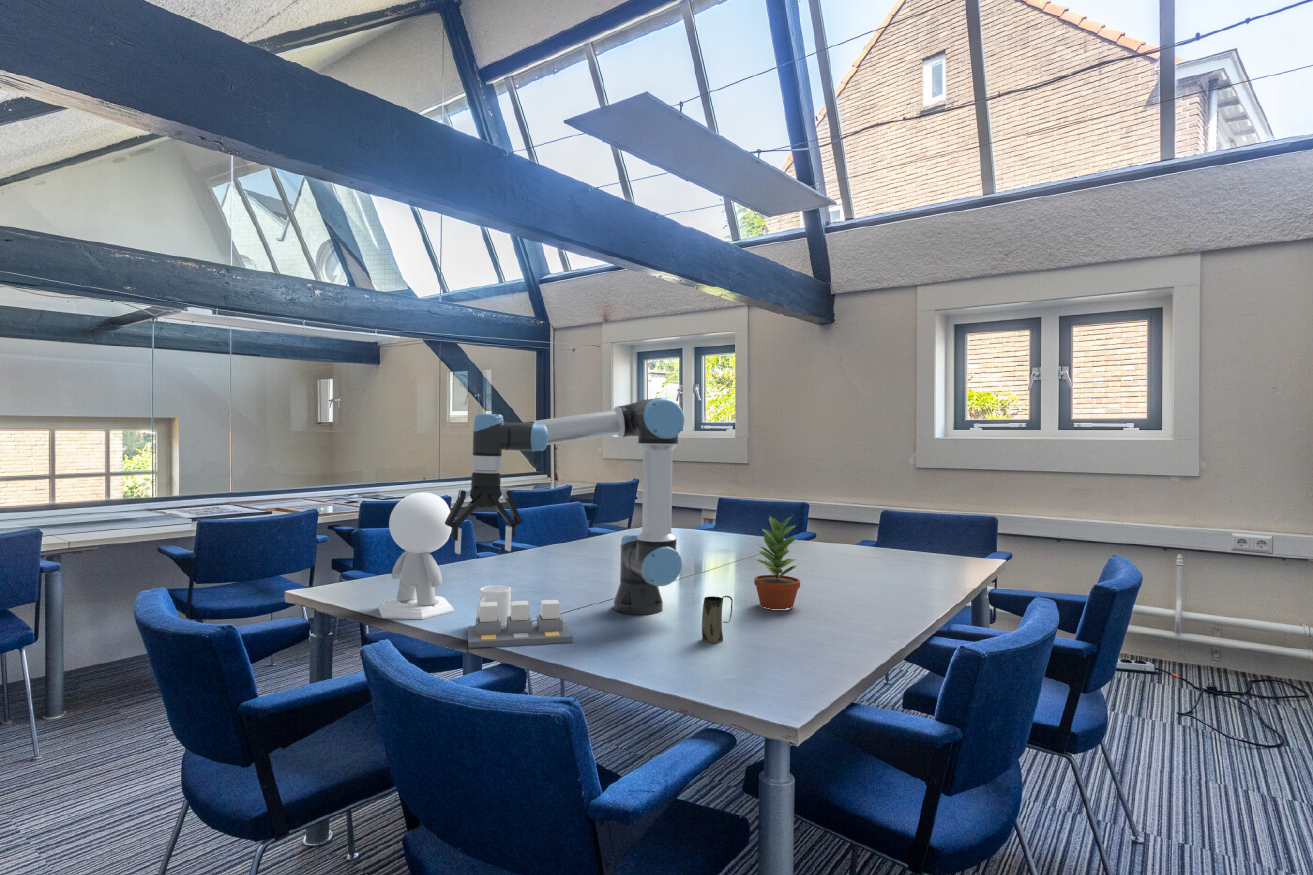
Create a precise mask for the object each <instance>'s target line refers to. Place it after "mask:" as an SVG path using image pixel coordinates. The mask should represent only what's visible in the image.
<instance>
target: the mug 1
mask: <svg viewBox="0 0 1313 875" xmlns="http://www.w3.org/2000/svg"><path fill="white" fill-rule="evenodd" d="M511 594H512V588H511V587H510V586H506V585H487V586H483V587H480V588H479V601H478V603H477V607H476V617H480V603H481V602H497V605H498V612H497V616H500V620H501V625H507V616H510V613H511V600H512V598H511V596H512V595H511Z"/></svg>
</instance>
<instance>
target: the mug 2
mask: <svg viewBox="0 0 1313 875" xmlns="http://www.w3.org/2000/svg"><path fill="white" fill-rule="evenodd" d="M724 598H729V599H730V601H731V602H730V612H729V613H730V614H729V620H728V621H726V620H725V621H724V620H723V603H724ZM733 602H734V601H733V598H732V596H730V595H723V596H722V597H720V596H705V597H704V598H703V604H702V614H701V615H702V617H701V635H702V636H701V637H702V639H701V640H702V641H703V642H704V641H705V642H704V643H707V642H709V643H708V644H720V643H719V642H721V643H723V642H724V636H723V623H725V624H728V623H729V622H731V619H732V614H733ZM722 641H723V642H722Z"/></svg>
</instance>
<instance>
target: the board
mask: <svg viewBox="0 0 1313 875" xmlns="http://www.w3.org/2000/svg"><path fill="white" fill-rule="evenodd" d="M567 624H568V623H566V622H565V621H564V619H563V617H562V615H561V613H559V619H542V617H541V614H536V623H535V622H534V623H533V619H532V616H531V614H529V620H516V621H511V617H510V616H507V625H501V620H500V616H497V621H494V622H480V618H479V617H477V616H476V617H475V625H473V626H472V625H471V626H468V627H467V649H473V648H474V649H475V648H477V649H478V648H490V647H491V648H492V647H495V648H496V647H509V646H510V647H511V646H513V647H514V646H529V645H530V646H531V645H546V644H548V645H549V644H567V643H570V644H571V643H573V642H574V641H573V640H574V639H573V638H574V637H573V634H572V632H571V630H570V628H569V626H568V625H567Z"/></svg>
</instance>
